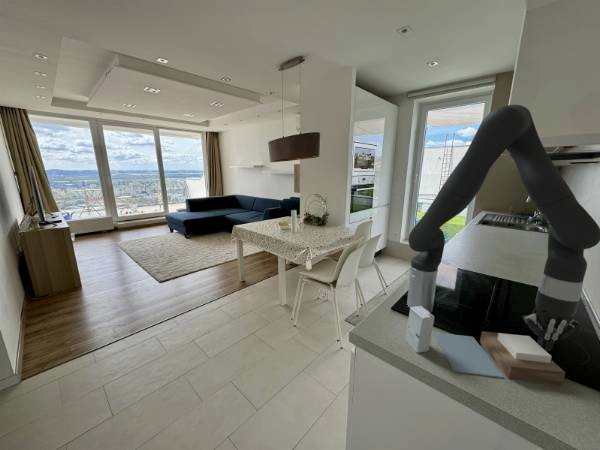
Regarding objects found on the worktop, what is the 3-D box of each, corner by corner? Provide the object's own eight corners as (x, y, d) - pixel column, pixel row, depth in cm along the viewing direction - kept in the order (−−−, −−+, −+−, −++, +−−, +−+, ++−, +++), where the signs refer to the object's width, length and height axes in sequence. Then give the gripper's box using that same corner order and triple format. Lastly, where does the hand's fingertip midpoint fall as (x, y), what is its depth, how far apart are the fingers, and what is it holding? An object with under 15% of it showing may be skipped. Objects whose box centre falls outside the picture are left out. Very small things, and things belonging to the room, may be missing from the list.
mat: (433, 333, 81) (433, 332, 81) (473, 337, 79) (473, 336, 79) (454, 371, 65) (454, 370, 65) (504, 378, 63) (504, 377, 63)
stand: (479, 342, 77) (481, 331, 76) (522, 346, 74) (525, 335, 73) (508, 378, 63) (511, 366, 62) (561, 385, 61) (565, 372, 60)
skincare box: (404, 340, 78) (408, 306, 75) (417, 338, 79) (420, 305, 76) (417, 353, 72) (421, 318, 69) (430, 351, 73) (435, 316, 70)
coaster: (497, 338, 72) (498, 333, 72) (527, 342, 71) (529, 336, 70) (515, 358, 65) (516, 352, 64) (549, 362, 63) (551, 356, 63)
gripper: (574, 287, 65) (559, 342, 69) (519, 284, 68) (508, 337, 72) (603, 302, 58) (585, 362, 62) (540, 297, 60) (526, 356, 64)
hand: (543, 348), depth 67 cm, fingers closed
